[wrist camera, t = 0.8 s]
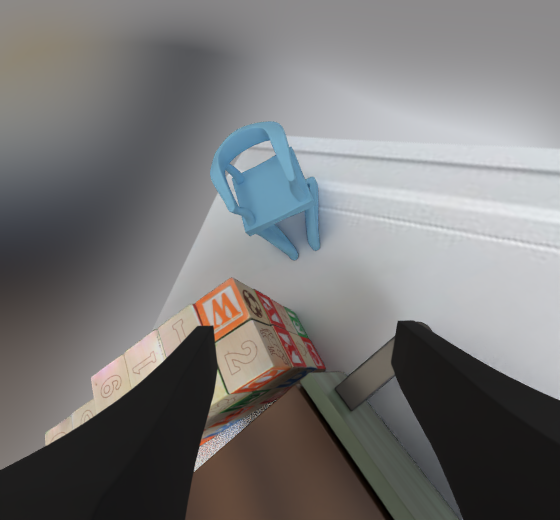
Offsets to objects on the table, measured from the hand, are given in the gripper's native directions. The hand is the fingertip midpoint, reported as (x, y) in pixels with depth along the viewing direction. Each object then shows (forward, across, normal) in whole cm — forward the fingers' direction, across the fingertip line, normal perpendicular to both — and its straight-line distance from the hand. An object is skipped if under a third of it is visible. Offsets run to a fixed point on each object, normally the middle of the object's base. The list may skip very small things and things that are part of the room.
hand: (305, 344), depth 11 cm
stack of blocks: (+13, +6, +16) cm, 21 cm away
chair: (+22, -2, +1) cm, 22 cm away
